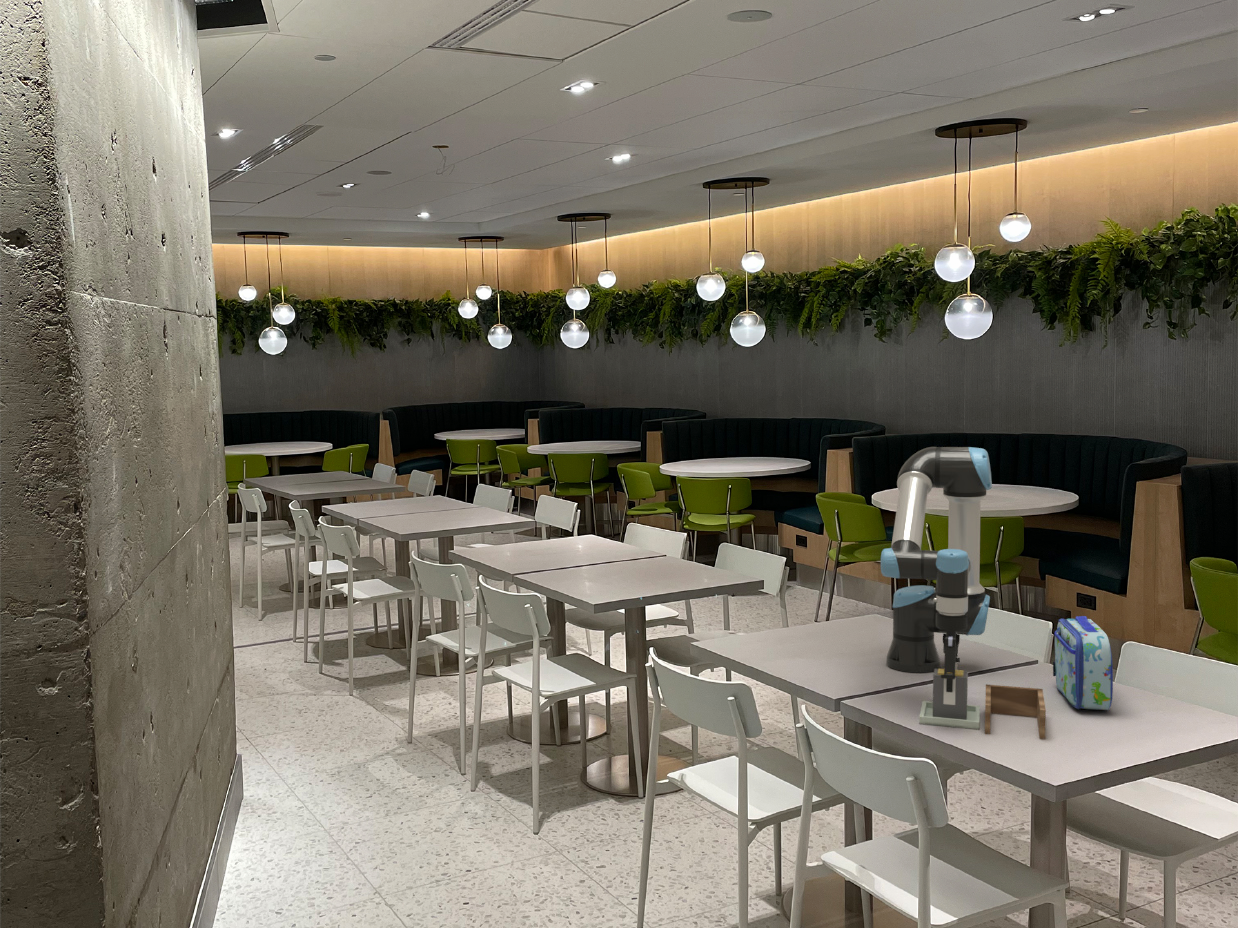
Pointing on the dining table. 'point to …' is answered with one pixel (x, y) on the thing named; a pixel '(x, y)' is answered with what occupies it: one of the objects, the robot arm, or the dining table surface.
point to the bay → (1015, 704)
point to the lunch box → (1083, 664)
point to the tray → (970, 723)
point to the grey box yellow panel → (960, 696)
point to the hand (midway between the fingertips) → (950, 695)
